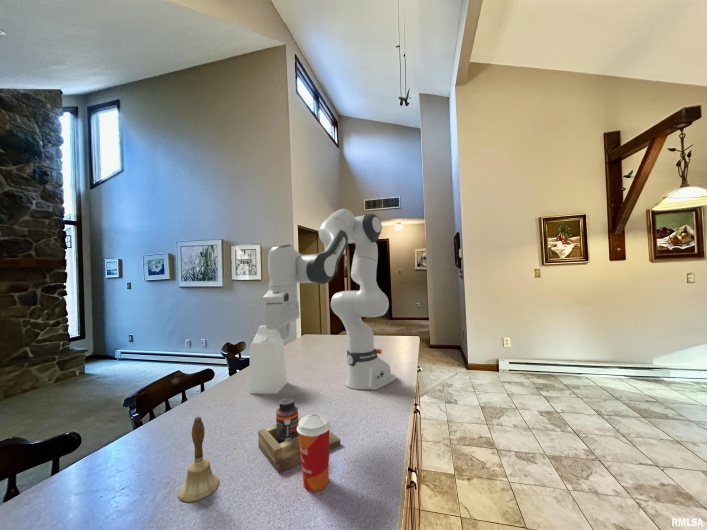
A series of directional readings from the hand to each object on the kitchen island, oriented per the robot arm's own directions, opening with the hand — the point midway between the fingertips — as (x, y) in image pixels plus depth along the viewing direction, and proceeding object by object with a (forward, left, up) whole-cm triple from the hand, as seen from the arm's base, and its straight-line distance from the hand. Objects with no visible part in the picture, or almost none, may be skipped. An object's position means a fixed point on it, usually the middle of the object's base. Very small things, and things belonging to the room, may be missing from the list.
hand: (285, 337), depth 97 cm
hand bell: (+28, +14, -27) cm, 42 cm away
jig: (+3, +14, -27) cm, 31 cm away
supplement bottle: (+6, +13, -26) cm, 29 cm away
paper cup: (+7, +30, -27) cm, 41 cm away
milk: (-6, -33, -27) cm, 43 cm away
